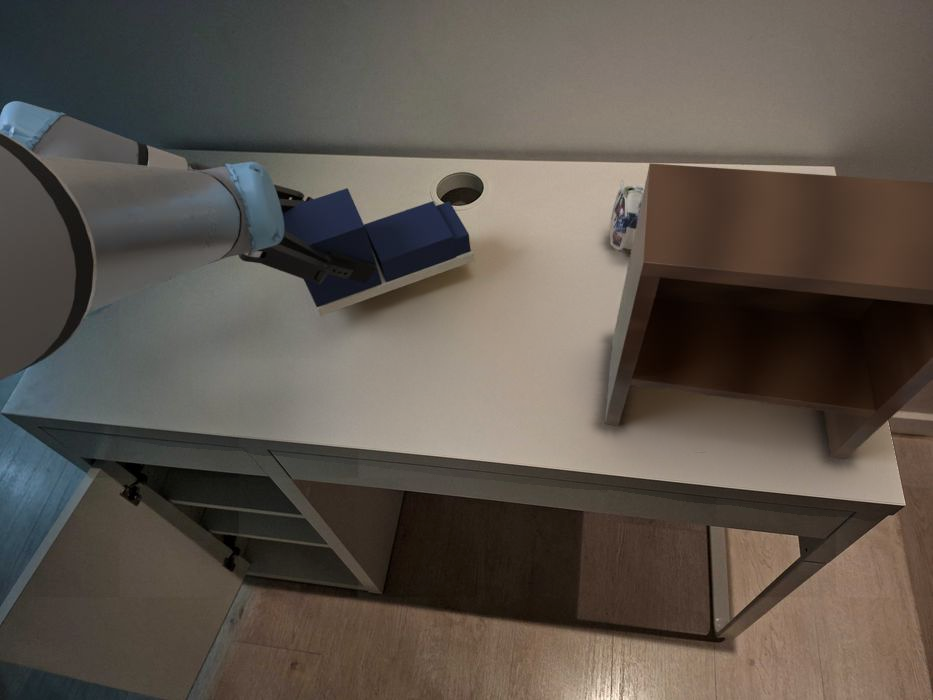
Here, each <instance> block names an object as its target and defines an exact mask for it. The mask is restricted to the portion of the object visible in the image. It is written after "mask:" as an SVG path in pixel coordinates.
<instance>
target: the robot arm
mask: <svg viewBox="0 0 933 700" xmlns="http://www.w3.org/2000/svg"><path fill="white" fill-rule="evenodd" d="M290 198H291V199H290ZM304 198H305V194H304V193H303V192H302V191H299V190H295V189H292V188H290V187H289V188H288V187H285V186H283V185H277V184H274V182H273V180H272V177H271V175H270V174H269V172H268V170H267V169H266V168H265V167H264V165H262V164H261V163H259V162H256V161H246V162H239V163H233V164H231V163H229V162H228V163H225V164H224V163H223V165H222V166H218V167H210V166H207V165H204V164H202V163H199V162H197V161H193V162H189V163H188V161H187V159H186V158H185V157H183V156H180V155H177V154H174V153H171V152H168V151H165V150H162V149H159V148H157V147H154V146H151V145H148V144H145V143H141V142H140V141H136V140H134V139H133V140H132V139H130V138H127V137H124V136H122V135H119V134H118V133H117V134H116V133H114V132H111V131H109V130H106V129H103V128H101V127H98V126H95V125H93V124H90V123H88V122H84V121H82V120H79V119H76V118H74V117H71V116H68V114H66V113H64V112H62V111H61V112H58V111H54V110H51V109H48V108H44V107H41V106H37V105H34V104H30V103H27V102H24V101H18V100H15V101H11V102H8V103H7V104H5V105H4V107H3V108H2V110H1V113H0V382H1V381H3V380H5V379H7V378H9V377H11V376H13V375H16V374H18V373H20V372H23V371H24V370H26V369H28V368H30V367H33V366H34V365H36V364H38V363H40V362H42V361H44V360H45V359H47V358H49V357H50V356H52V355H54V353H56V352H57V351H58V350H60V349H61V348H62V347H64V346H65V345H66V344H67V343H68V342H69V341H70V339H72V338H73V336H74V335H76V333H77V332H78V331H79V329H80V327H81V326H82V325H83V323H84V321H85V320H86V318H88V317H93V316H97V315H99V314H100V313H102V311H103V310H105V309H108V308H109V307H110V306H111V305H113V304H114V303H116V302H118V301H121V300H124V299H127V298H128V297H130V296H133V295H136V294H138V293H140V292H143V291H145V290H148V289H150V288H153V287H155V286H157V285H160V284H162V283H165V282H167V281H169V280H172V279H174V278H178V277H180V276H182V275H184V274H186V273H189V272H191V271H194V270H196V269H198V268H201V267H204V266H206V265H209V264H212V263H216V262H219V261H221V260H224V259H227V258H230V257H235V256H238V258H239V259H240V260H241V261H243V262H246V263H256V264H261V265H264V266H267V267H268V268H269V267H270V268H272V269H275V270H278V271H280V272H283V273H286V274H289V275H292V276H294V277H297V278H299V279H302V280H304V279H305V280H308V281H311V282H313V283H316V284H321V283H322V281H323V280H324V278H325V277H326V275H327V274H330V275H334V276H337V277H341V278H345V279H346V278H349V279H352V280H356V281H360V282H363V283H366V282H367V281H368V279H369V278H370V277H371V275H372V274H373V273H374V271H375V270H376V265H375V264H373V263H369V262H366V261H363V260H360V259H356V258H353V257H350V256H347V255H343V254H340V253H337V252H333V251H330V252H329V254H326V253H324V252H323V251H321V250H319V249H317V248H315V247H313V246H310V245H309V244H308V243H306V242H304V241H302V240H301V239H299V238H297V237H295V236H293V235H292V234H290V233H288V232H286V231H284V219H283V214H282V213H284V212H286V211H288V210H289V209H291V208H293V207H295V205H297V204H301V203H304V202H307V201H310V200H313V199H314V198H313V197H311V196H307V198H306V199H304Z"/></svg>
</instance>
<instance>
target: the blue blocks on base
mask: <svg viewBox="0 0 933 700" xmlns="http://www.w3.org/2000/svg"><path fill="white" fill-rule="evenodd" d="M312 199H313V200H310V201H307V202H304V203H301V204H297V205H295V207H293V208H291V209H289V210H288V211H286V212H284V213H282V214H283V219H284V231H286V232H288V233H290V234H292V235H293V236H295V237H297V238H299V239H301V240H302V241H304V242H306V243H308V244H309V245H310V246H313V247H315V248H317V249H319V250H321V251H323V252H324V253H326V254H329V252H330V251H333V252H337V253H340V254H343V255H347V256H350V257H353V258H356V259H360V260H363V261H366V262H369V263H373V264H375V265H376V270H375V271H374V273H373V274H372V275H371V277H370V278H369V279H368V281H367V282H366V283H363V282H360V281H356V280H352V279H349V278H346V279H345V278H341V277H337V276H334V275H330V274H327V275H326V277H325V278H324V280H323V281H322V283H321V284H316V283H313V282H311V281H308V280H305V279H303V281H304V284H305V285H306V288H307V290H308V292H309V294H310V297H311V298H312V301H313V302H314V305H315V307H316V309H317V311H318V313H319V315H320V317H322V316H324V315H327V314H330V313H333V312H336V311H338V310H341V309H344V308H347V307H349V306H352V305H355V304H357V303H360V302H364V301H366V300H370V299H372V298H375V297H377V296H380V295H383V294H385V293H388V292H391V291H394V290H396V289H400V288H403V287H406V286H408V285H411V284H413V283H416V282H419V281H422V280H425V279H428V278H430V277H433V276H435V275H438V274H442V273H444V272H446V271H450V270H453V269H455V268H458V267H461V266H463V265H467V264H470V263H472V262H474V261H475V255H474V252H473V249H472V248H471V241H470V239H471V238H470V234H469V232H468V230H467V228H466V226H465V225H464V223H463V222H462V219H461V218H460V216H459V215H458V213H457V212H456V210H455V208H454V206H453V205H452V203H451V201H450V200H449V201H445V202H443V203H439V204H437V205H436V203H435V201H433V200H432V201H429V202H426V203H423V204H420V205H417V206H414V207H411V208H409V209H405V210H402V211H399V212H397V213H394V214H391V215H387V216H384V217H382V218H379V219H376V220H373V221H369V222H367V223H364V222H363V219H362V217H361V215H360V212H359V210H358V209H357V208H358V207H357V206H356V203H355V202H354V200H353V197H352V195H351V192H350V190H349V188H344V189H340V190H337V191H335V192H331V193H329V194H326V195H325V194H324V195H322V196H319V197H316V198H312Z"/></svg>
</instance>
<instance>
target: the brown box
mask: <svg viewBox="0 0 933 700" xmlns="http://www.w3.org/2000/svg"><path fill="white" fill-rule="evenodd" d="M645 179H646V180H645V183H644V187H643V190H644V193H643V198H642V203H641V207H640V212H639V217H638V222H637V226H636V231H635V236H634V241H633V245H632V250H631V252H630V255H629V260H628V265H627V269H626V273H625V279H624V284H623V289H622V293H621V297H620V302H619V308H618V313H617V316H616V322H615V327H614V331H613V336H612V342H611V351H610V352H611V353H610V362H609V371H608V372H609V374H608V384H607V394H606V406H605V415H604V416H605V417H604V424H605V425H612V426H617V427H618V426H619V425H620V422H621V419H622V415H623V411H624V407H625V404H626V400H627V397H628V393H629V390H630V386H635V387H643V388H652V389H656V390H657V389H658V390H664V391H665V390H666V391H673V392H674V391H675V392H681V393H687V394H688V393H689V394H694V395H703V396H711V397H717V398H724V399H725V398H726V399H733V400H740V401H747V402H748V401H749V402H755V403H756V402H757V403H763V404H769V405H777V406H784V407H785V406H786V407H792V408H793V407H794V408H801V409H807V410H815V411H823V413H824V421H825V429H826V436H827V444H828V451H829V457H830V458H835V459H836V458H837V459H841V460H846V459H848V458H849V457H850V456H851V455H852V454H853V453H854V452H855V451H857V449H858V448H859V447H861V446H862V445H863V444H864V443H865V442H866V441H867V440H868V439H870V438H871V437H872V436H873V435H874V434H875V433H877V431H878V430H879V429H880V428H881V427H883V426H884V425H885V424H886V423H887V422H888V421H890V419H892V417H893V416H895V414H897V413H898V412H899V411H900V410H901V409H902V408H903V407H904V406H906V405H907V403H909V402H910V401H911V400H912V399H913V398H914V397H915V396H916V395H917V394H919V393H920V392H921V391H922V390H923V389H924V388H925V387H927V385H928V384H930V383H931V382H932V381H933V181H923V180H922V181H921V180H905V179H892V178H891V179H889V178H874V177H862V176H861V177H860V176H845V175H833V174H832V175H831V174H817V173H801V172H786V171H773V170H772V171H771V170H755V169H741V168H740V169H739V168H725V167H712V166H711V167H709V166H698V165H697V166H694V165H680V164H667V163H649V164H648V170H647V174H646V178H645Z"/></svg>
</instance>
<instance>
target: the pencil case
mask: <svg viewBox="0 0 933 700" xmlns="http://www.w3.org/2000/svg"><path fill="white" fill-rule="evenodd" d="M623 180H624V179H621V180H620V182H619V186H620V189H618V192H617V194H616V197H615V199H614V200H615V201H614V204H613V207H612V211H611V216H610V223H609V238H610V241H609V243H610V246H611V247H612V248H614V249H615V250H617V251H618V252H620V253H624V252H626V253H631V250H632V245H633V241H634V236H635V231H636V226H637V222H638V217H639V212H640V207H641V203H642V198H643V193H644V187H643V186H640V185H636V186H633V185H626V186H625V184H624V181H623Z"/></svg>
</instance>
